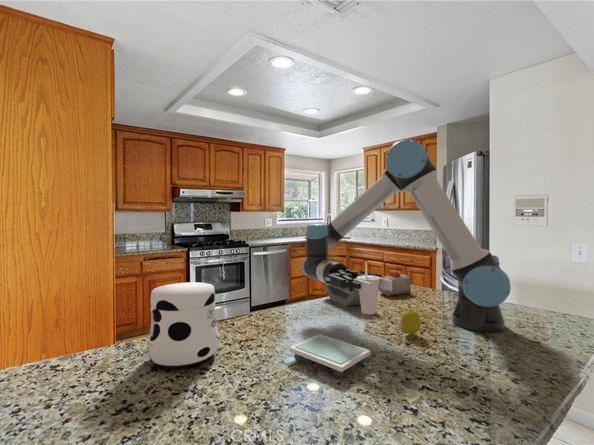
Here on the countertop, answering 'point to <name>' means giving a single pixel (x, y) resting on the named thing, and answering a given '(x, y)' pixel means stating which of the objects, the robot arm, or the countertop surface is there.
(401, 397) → the countertop surface
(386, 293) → the grey boxy piece
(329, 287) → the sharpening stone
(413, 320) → the lemon
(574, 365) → the countertop surface
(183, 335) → the milk container
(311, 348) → the tray
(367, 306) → the smoothie
